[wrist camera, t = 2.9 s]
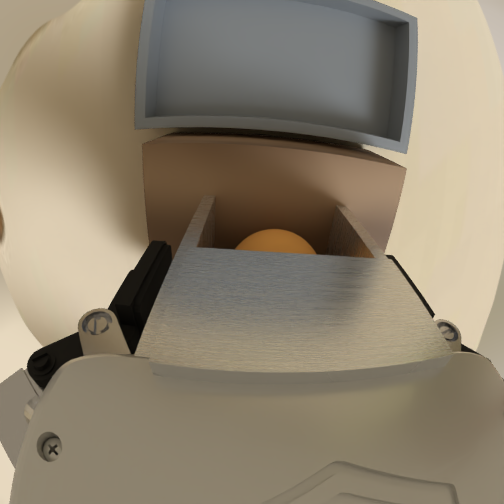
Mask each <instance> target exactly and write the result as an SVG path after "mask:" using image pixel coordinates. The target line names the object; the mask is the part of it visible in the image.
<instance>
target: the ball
mask: <svg viewBox="0 0 504 504" xmlns="http://www.w3.org/2000/svg"><path fill="white" fill-rule="evenodd" d="M235 250H250V251H266V252H282V253H299V254H315V255H317V254H316V252H315V251H314V249H313V248H312V247H311V246H310V244H309V243H308V242H307V241H306V240H304V239H303V238H302V237H300V236H298V235H296V234H295V233H292V232H290V231H286V230H281V229H267V230H262V231H259V232H256V233H254V234H252V235H250V236H248V237H247V238H245V239H244V240H243V241H242V242H241V243H240V244H239V245H238V246H237V247H236V248H235Z"/></svg>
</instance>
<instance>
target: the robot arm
mask: <svg viewBox="0 0 504 504" xmlns="http://www.w3.org/2000/svg"><path fill="white" fill-rule="evenodd" d="M386 257H387V258H388V259H392V261H393V262H394V263H395V265H396V266H397V267H398V269H399V270H400V272H401V273H402V274H403V276H404V277H405V278H406V280H407V281H408V283H409V284H410V285H411V287H412V288H413V290H414V291H415V293H416V294H417V296H418V297H419V299H420V300H421V302H422V303H423V305H424V306H425V308H426V309H427V311H428V312H429V314H430V315H431V317H432V318H433V317H434V315H435V314H434V312H433V311H432V309H431V308H430V306H429V305H428V303H427V302H426V300H425V299H424V297H423V296H422V294H421V293H420V291H419V290H418V289H417V287H416V286H415V284H414V283H413V282H412V280H411V279H410V277H409V276H408V275H407V273H406V272H405V271H404V269H403V268H402V267H401V265H400V264H399V263H398V261H397V260H396V259H395V257H394V256H393V255H386ZM171 263H172V250H171V245H167V242H166V241H155V240H152V242H151V243H150V245H149V246H148V248H147V249H146V251H145V253H144V254H143V256H142V257H141V259H140V261H139V262H138V264H137V265H136V267H135V269H134V270H131V271H130V272H129V273H128V275H127V276H126V278H125V280H124V281H123V283H122V285H121V286H120V288H119V290H118V292H117V293H116V295H115V297H114V299H113V300H112V302H111V304H110V306H109V307H108V309H105V308H98V309H93V310H91V311H89V312H87V313H86V314H84V315H83V316H82V317H81V319H80V320H79V323H78V332H77V333H74V334H72V335H70V336H68V337H65V338H63V339H61V340H59V341H57V342H54V343H52V344H50V345H48V346H45V347H43V348H41V349H39V350H38V351H36V352H34V353H33V354H32V355H31V357H30V358H29V360H28V363H27V369H26V370H23V369H22V368H21V369H20V370H18V371H17V372H15V373H14V374H13V375H11V376H10V377H9V378H8V379H6V380H5V381H3V382H2V383H1V384H0V441H1V443H2V445H3V447H4V449H5V451H6V453H7V455H8V457H9V458H10V461H11V462H12V464H13V466H14V467H15V473H14V478H13V483H12V490H11V496H10V504H504V379H503V378H501V376H500V374H499V373H498V371H497V370H496V368H495V367H494V365H493V364H492V363H491V361H490V360H489V359H488V358H485V357H484V356H482V355H480V354H479V353H477V352H475V351H473V350H472V349H470V348H468V347H466V346H464V345H463V344H461V334H460V331H459V330H458V328H457V327H456V326H455V325H454V324H453V323H451V322H449V321H447V320H443V319H439V320H436V321H435V323H436V325H437V326H438V328H439V330H440V331H441V333H442V335H443V336H444V338H445V340H446V341H447V343H448V345H449V346H450V348H451V350H452V352H453V353H454V355H453V356H452V358H451V359H450V360H449V362H448V363H447V364H446V366H444V367H440V368H435V369H430V370H425V371H419V372H414V373H408V374H403V375H396V376H390V377H383V378H375V379H367V380H357V381H346V382H333V383H316V384H237V383H220V382H208V381H197V380H187V379H178V378H170V377H163V376H156V375H153V373H152V370H151V367H150V364H149V359H150V357H142V356H134V354H135V351H136V349H137V346H138V343H139V341H140V338H141V335H142V333H143V330H144V328H145V325H146V323H147V320H148V317H149V315H150V312H151V310H152V308H153V305H154V303H155V300H156V298H157V295H158V293H159V291H160V288H161V286H162V284H163V281H164V279H165V277H166V274H167V272H168V270H169V268H170V265H171Z"/></svg>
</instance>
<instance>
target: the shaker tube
mask: <svg viewBox="0 0 504 504" xmlns="http://www.w3.org/2000/svg"><path fill="white" fill-rule="evenodd" d="M453 355H454V353H453V352H452V350H451V348H450V346H449V345H448V343H447V341H446V340H445V338H444V336H443V335H442V333H441V331H440V330H439V328H438V326H437V325H436V323H435V322H434V320H433V318H432V317H431V315H430V314H429V312H428V311H427V309H426V308H425V306H424V305H423V303H422V302H421V300H420V299H419V297H418V296H417V294H416V293H415V291H414V290H413V288H412V287H411V285H410V284H409V283H408V281H407V280H406V278H405V277H404V276H403V274H402V273H401V272H400V270H399V269H398V267H397V266H396V265H395V263H394V262H393V261H392V259H388V258H387V257H386V255H385V254H384V253H383V251H382V250H381V249H380V247H379V246H378V245H377V243H376V242H375V241H374V240H373V238H372V237H371V236H370V235H369V233H368V232H367V231H366V230H365V228H364V227H363V226H362V225H361V223H360V222H359V221H358V220H357V219H356V217H355V216H354V215H353V214H352V213H351V211H350V210H349V209H348V208H347V207H346V206H340V205H336V208H335V213H334V218H333V223H332V228H331V232H330V237H329V242H328V246H327V250H326V255H315V254H299V253H282V252H266V251H250V250H233V249H216V248H215V195H204V196H203V198H202V200H201V202H200V204H199V206H198V208H197V210H196V212H195V214H194V216H193V218H192V220H191V222H190V224H189V227H188V229H187V231H186V233H185V235H184V237H183V239H182V241H181V243H180V246H179V248H178V250H177V252H176V254H175V257H174V259H173V261H172V263H171V265H170V268H169V270H168V272H167V274H166V277H165V279H164V281H163V284H162V286H161V288H160V291H159V293H158V295H157V298H156V300H155V303H154V305H153V308H152V310H151V312H150V315H149V317H148V320H147V323H146V325H145V328H144V330H143V333H142V335H141V338H140V341H139V343H138V346H137V349H136V351H135V354H134V356H142V357H150V359H149V364H150V367H151V370H152V373H153V375H156V376H163V377H170V378H178V379H187V380H197V381H208V382H220V383H237V384H316V383H333V382H346V381H357V380H367V379H375V378H383V377H390V376H396V375H403V374H408V373H414V372H419V371H425V370H430V369H435V368H440V367H444V366H446V364H447V363H448V362H449V360H450V359H451V358H452V356H453Z"/></svg>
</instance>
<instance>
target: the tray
mask: <svg viewBox="0 0 504 504" xmlns="http://www.w3.org/2000/svg"><path fill="white" fill-rule="evenodd" d="M417 52H418V27H417V18H416V17H413V16H411V15H409V14H407V13H404V12H402V11H400V10H397V9H395V8H392V7H390V6H387V5H385V4H382V3H379V2H376V1H373V0H145V3H144V9H143V16H142V22H141V30H140V38H139V47H138V58H137V71H136V88H135V129H149V128H172V127H221V128H244V129H259V130H271V131H281V132H291V133H299V134H307V135H314V136H321V137H328V138H334V139H340V140H345V141H351V142H356V143H361V144H366V145H370V146H375V147H379V148H384V149H388V150H392V151H396V152H400V153H404V154H407V149H408V144H409V137H410V131H411V124H412V117H413V109H414V99H415V89H416V75H417Z"/></svg>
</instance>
